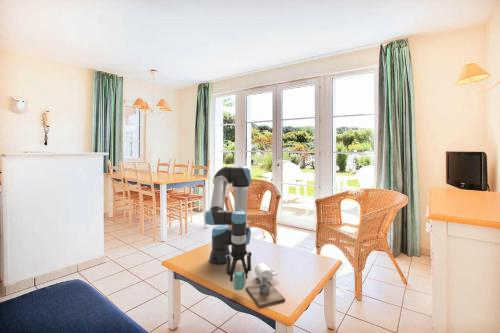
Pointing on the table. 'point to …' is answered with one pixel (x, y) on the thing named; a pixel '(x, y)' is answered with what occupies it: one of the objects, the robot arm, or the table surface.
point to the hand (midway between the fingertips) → (238, 285)
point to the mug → (264, 272)
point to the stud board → (265, 298)
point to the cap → (239, 280)
